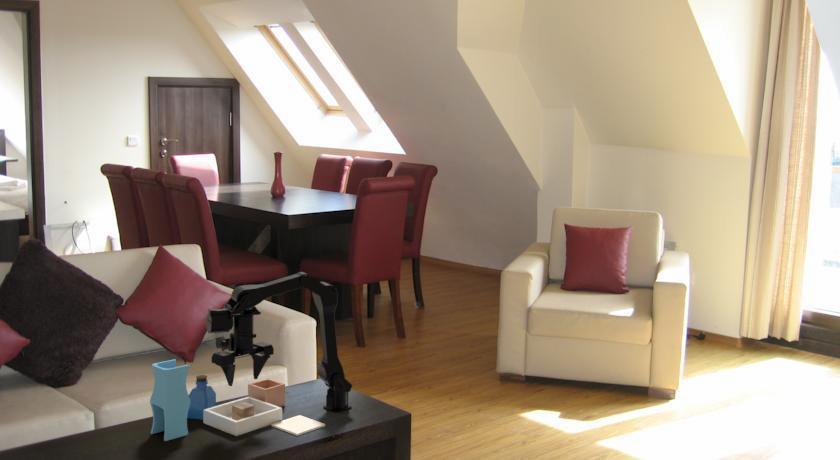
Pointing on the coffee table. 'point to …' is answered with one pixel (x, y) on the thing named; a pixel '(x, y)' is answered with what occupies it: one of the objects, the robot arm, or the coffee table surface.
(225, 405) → the white bin
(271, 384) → the terracotta pot
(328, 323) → the robot arm
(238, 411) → the walnut block
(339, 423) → the coffee table surface
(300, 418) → the cream coaster
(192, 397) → the perfume bottle
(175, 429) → the vase
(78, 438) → the coffee table surface
